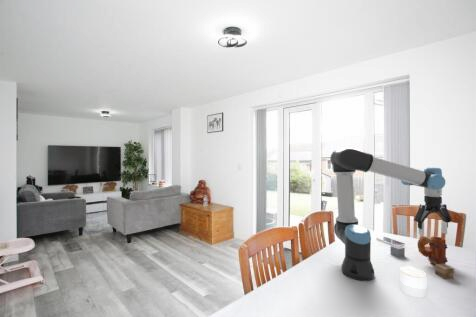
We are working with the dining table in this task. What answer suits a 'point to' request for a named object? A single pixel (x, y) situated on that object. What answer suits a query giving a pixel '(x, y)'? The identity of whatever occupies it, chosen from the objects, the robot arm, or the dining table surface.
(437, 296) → the dining table surface
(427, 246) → the terracotta block
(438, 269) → the walnut block
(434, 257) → the mug
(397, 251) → the slate block
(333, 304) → the dining table surface
